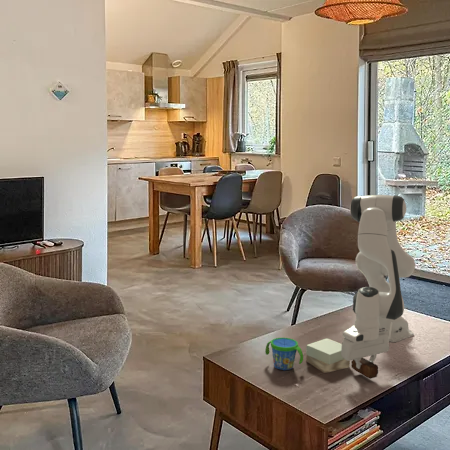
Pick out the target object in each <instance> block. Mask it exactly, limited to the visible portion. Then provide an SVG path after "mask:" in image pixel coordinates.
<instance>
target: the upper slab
mask: <svg viewBox="0 0 450 450" xmlns="http://www.w3.org/2000/svg"><path fill="white" fill-rule="evenodd" d="M341 347H342V343H340V342H337V341H335V340H332V339H330V338H323V339H320V340H318V341H315V342H311V343H309V344H306V348H305V349H306V351H305V352H306V353H305V354H306V355H308V356H311V357H313V358H315V359H318V360H320V361H322V362H324V363H327V364H329V365H330V364H332V363H335V362H338V361H340V360H343V359H344V358H343V357H342V356H341Z"/></svg>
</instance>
